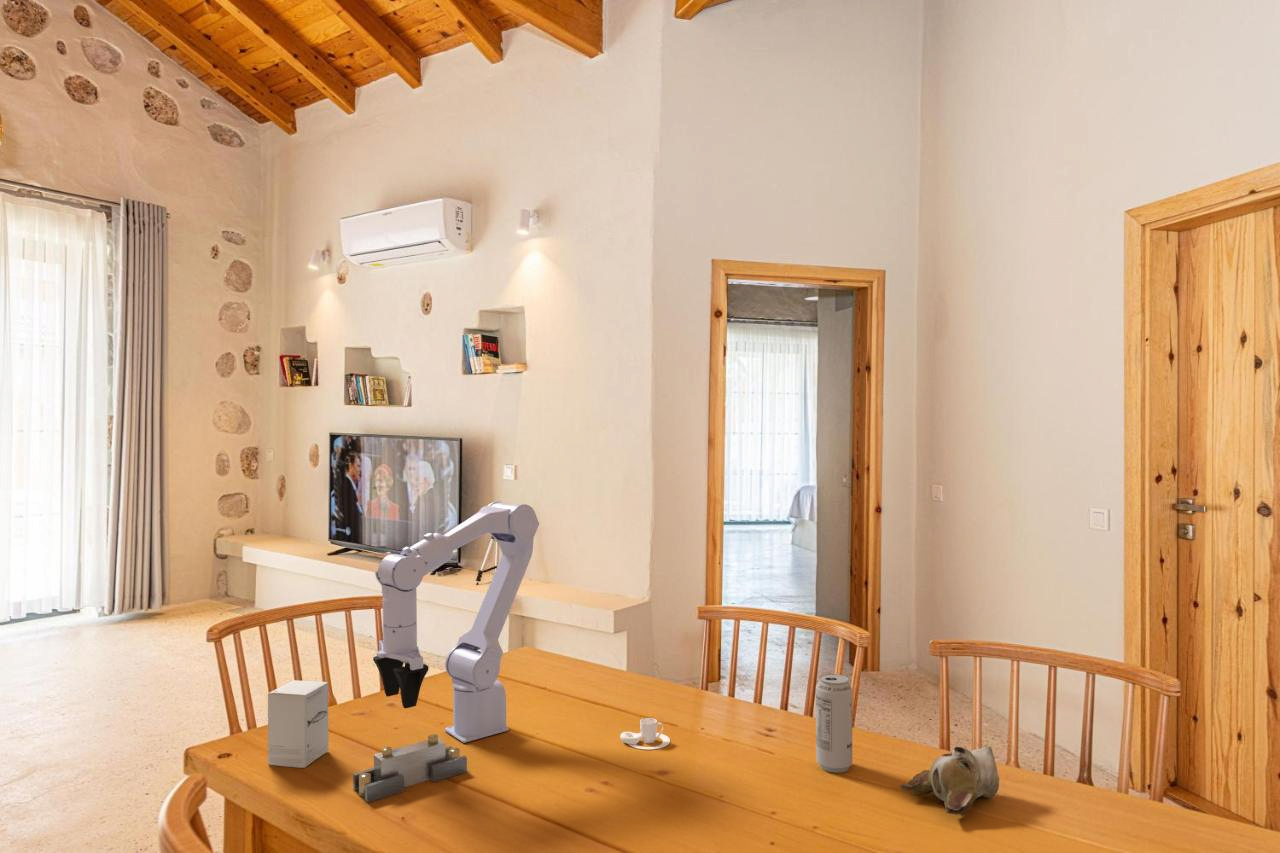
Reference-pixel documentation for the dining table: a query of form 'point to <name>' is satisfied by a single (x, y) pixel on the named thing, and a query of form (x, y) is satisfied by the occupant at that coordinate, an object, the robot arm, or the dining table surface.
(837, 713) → the energy drink can
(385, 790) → the end link
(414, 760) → the block with brass knobs
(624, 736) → the teacup and saucer
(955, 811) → the ceramic sculpture
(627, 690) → the dining table surface
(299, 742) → the supplement box
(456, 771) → the end link
